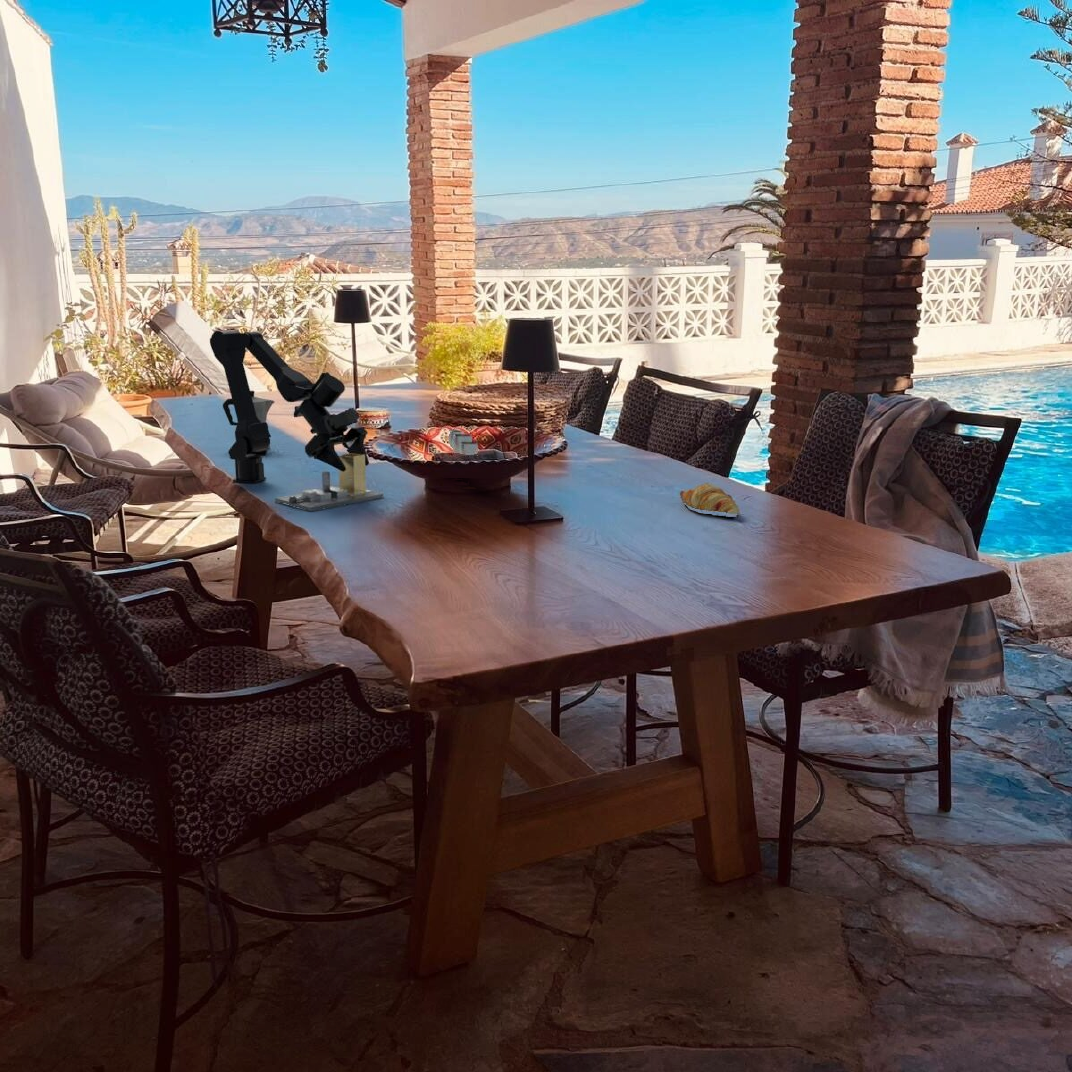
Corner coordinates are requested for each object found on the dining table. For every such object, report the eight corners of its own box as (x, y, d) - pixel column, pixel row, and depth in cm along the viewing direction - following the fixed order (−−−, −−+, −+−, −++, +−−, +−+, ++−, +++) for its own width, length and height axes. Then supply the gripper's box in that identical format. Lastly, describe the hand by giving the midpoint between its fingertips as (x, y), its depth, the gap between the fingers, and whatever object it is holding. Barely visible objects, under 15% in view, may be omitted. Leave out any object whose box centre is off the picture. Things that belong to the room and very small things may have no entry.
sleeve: (339, 491, 257) (338, 455, 255) (351, 488, 261) (350, 453, 259) (354, 493, 255) (353, 457, 253) (365, 490, 259) (365, 454, 257)
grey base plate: (272, 502, 250) (271, 473, 248) (347, 489, 266) (347, 462, 264) (307, 512, 241) (306, 482, 239) (383, 497, 257) (382, 469, 255)
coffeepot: (277, 445, 327) (274, 388, 323) (276, 451, 319) (273, 392, 314) (226, 446, 324) (222, 389, 320) (224, 452, 315) (220, 392, 311)
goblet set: (482, 489, 269) (482, 438, 266) (460, 490, 267) (460, 439, 264) (450, 469, 295) (450, 423, 291) (431, 470, 293) (430, 423, 289)
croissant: (745, 534, 243) (760, 503, 243) (717, 518, 237) (732, 486, 237) (688, 513, 260) (702, 484, 260) (661, 498, 254) (675, 469, 254)
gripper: (312, 401, 247) (351, 452, 244) (360, 394, 263) (397, 441, 260) (288, 432, 252) (325, 481, 250) (336, 422, 268) (372, 469, 266)
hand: (356, 467), depth 256 cm, fingers open, 9 cm apart
